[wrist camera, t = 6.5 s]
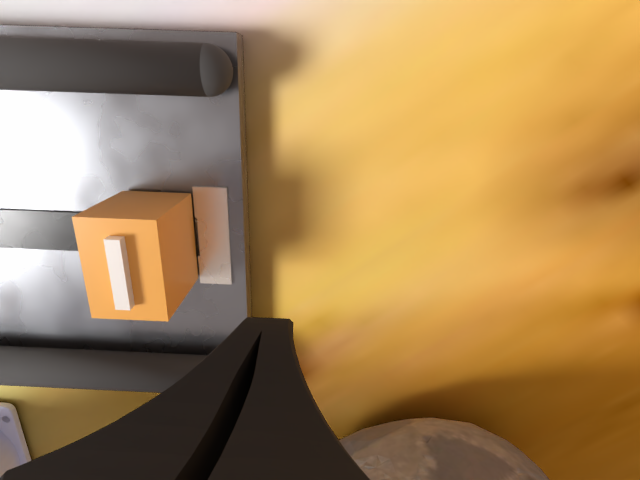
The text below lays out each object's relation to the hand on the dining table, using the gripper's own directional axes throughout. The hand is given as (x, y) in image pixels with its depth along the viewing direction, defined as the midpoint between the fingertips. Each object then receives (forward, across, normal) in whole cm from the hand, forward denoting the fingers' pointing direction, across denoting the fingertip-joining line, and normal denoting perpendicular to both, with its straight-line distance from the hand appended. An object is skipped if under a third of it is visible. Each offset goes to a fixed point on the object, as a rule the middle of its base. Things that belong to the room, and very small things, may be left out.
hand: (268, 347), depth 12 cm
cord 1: (+9, +10, +7) cm, 16 cm away
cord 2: (+9, +10, -7) cm, 16 cm away
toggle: (+8, +6, 0) cm, 11 cm away
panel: (+10, +10, 0) cm, 14 cm away
